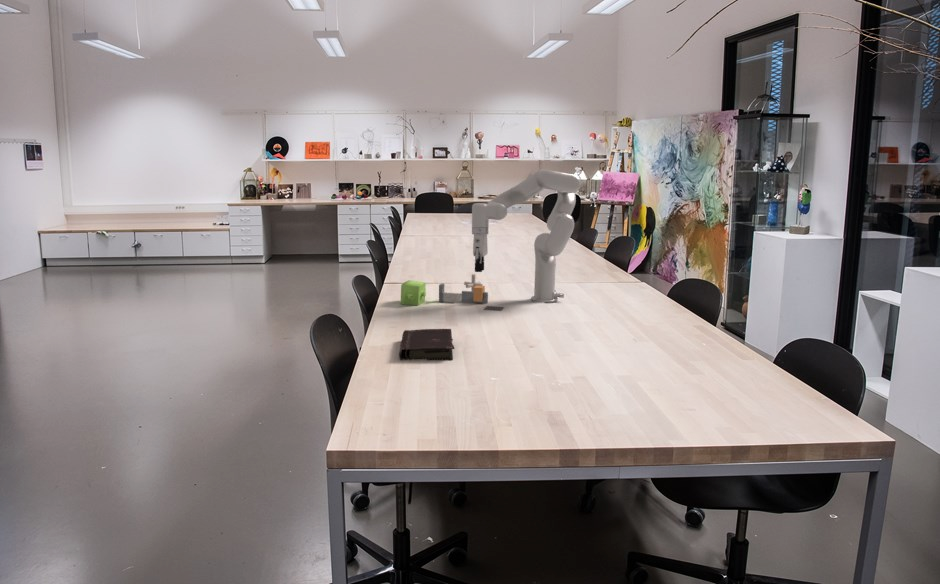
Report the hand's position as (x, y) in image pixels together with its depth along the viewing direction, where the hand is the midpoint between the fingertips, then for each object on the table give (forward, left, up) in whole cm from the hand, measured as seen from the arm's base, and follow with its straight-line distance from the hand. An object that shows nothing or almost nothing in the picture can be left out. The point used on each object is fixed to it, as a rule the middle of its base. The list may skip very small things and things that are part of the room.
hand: (479, 270), depth 321 cm
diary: (+1, +81, -16) cm, 82 cm away
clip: (0, 0, -14) cm, 14 cm away
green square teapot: (+29, +8, -16) cm, 33 cm away
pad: (-9, +10, -15) cm, 20 cm away
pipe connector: (+7, -19, -16) cm, 26 cm away
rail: (+7, 0, -15) cm, 17 cm away
